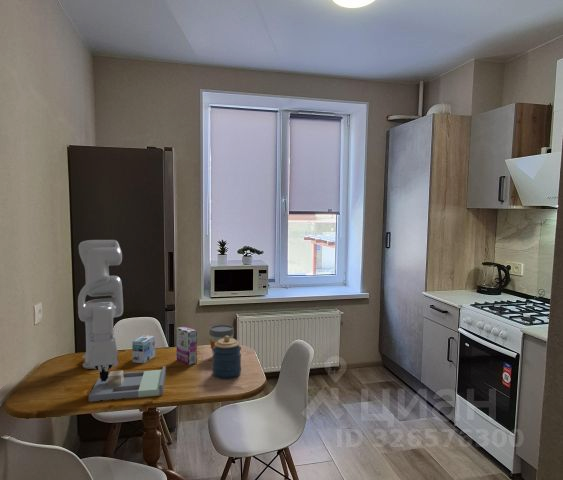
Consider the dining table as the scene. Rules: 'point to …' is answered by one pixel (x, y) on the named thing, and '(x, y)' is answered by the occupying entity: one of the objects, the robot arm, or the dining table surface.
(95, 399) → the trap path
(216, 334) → the reusable coffee cup
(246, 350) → the dining table surface
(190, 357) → the candy bar box
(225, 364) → the canister
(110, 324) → the robot arm
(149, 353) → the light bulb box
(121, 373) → the clear glass block
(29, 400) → the dining table surface
